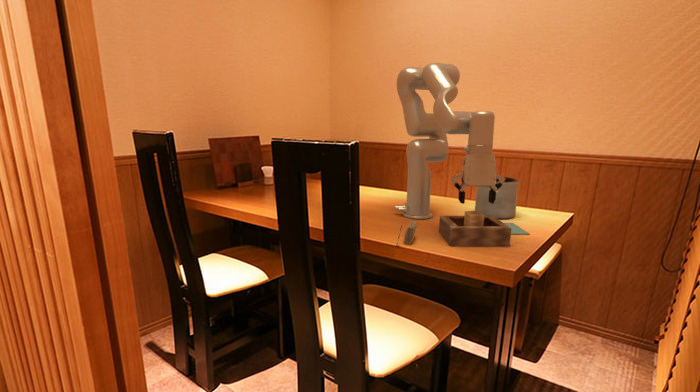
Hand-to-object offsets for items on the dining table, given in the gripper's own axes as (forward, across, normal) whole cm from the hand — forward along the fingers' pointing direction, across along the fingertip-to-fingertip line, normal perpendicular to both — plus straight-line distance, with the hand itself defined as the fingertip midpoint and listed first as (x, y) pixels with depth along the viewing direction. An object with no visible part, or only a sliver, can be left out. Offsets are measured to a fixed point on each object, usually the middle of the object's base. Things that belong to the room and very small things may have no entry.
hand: (476, 202), depth 122 cm
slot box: (+13, 0, +1) cm, 13 cm away
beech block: (+13, 0, +1) cm, 13 cm away
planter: (+12, +20, +33) cm, 40 cm away
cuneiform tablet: (+13, -23, -2) cm, 27 cm away
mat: (+12, +16, +13) cm, 24 cm away
